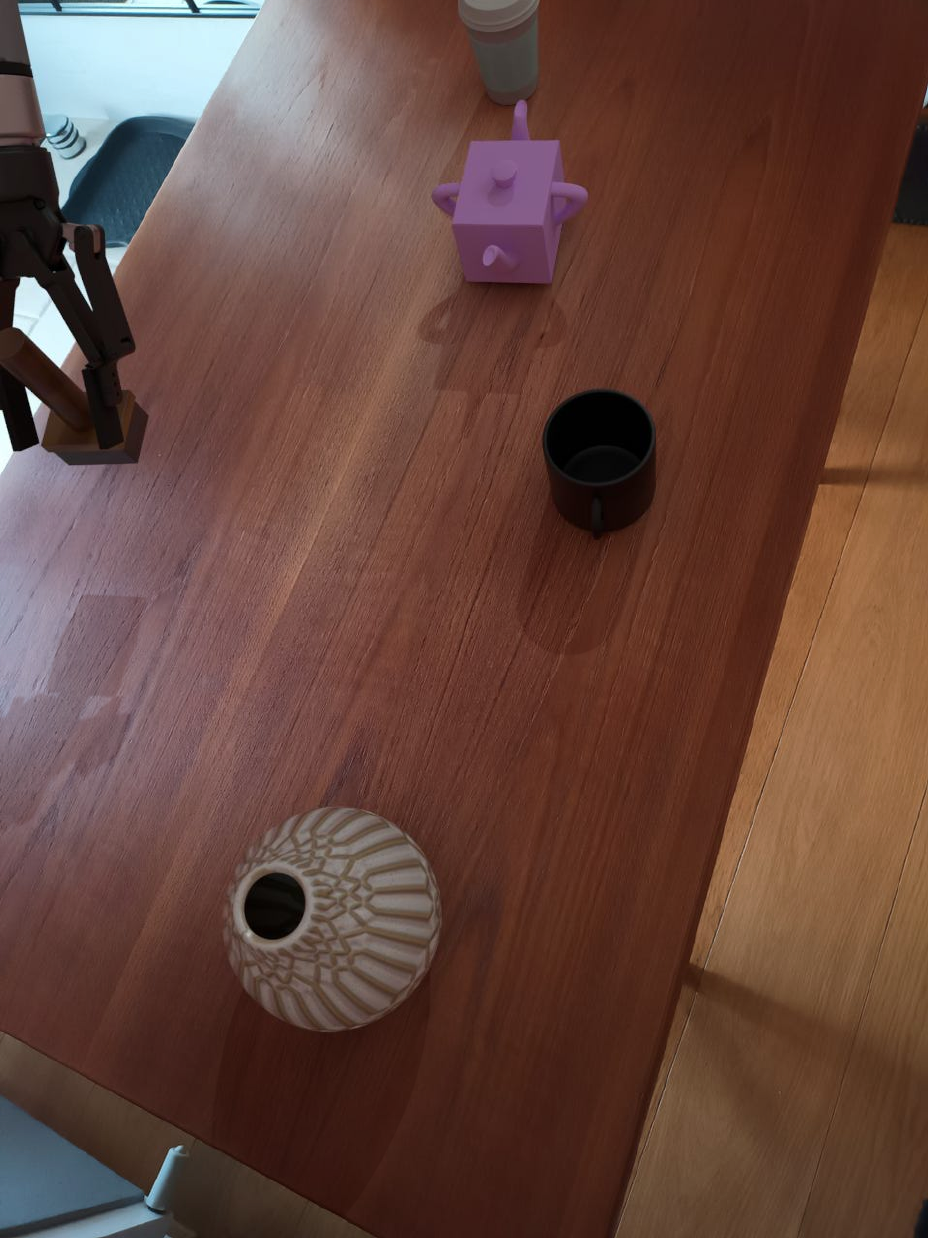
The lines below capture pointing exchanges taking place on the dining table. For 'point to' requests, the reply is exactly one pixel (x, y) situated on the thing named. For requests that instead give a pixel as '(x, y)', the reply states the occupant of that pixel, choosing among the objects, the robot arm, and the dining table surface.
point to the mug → (601, 459)
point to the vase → (332, 919)
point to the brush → (70, 407)
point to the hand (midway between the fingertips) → (68, 446)
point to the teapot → (510, 207)
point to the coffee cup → (504, 45)
